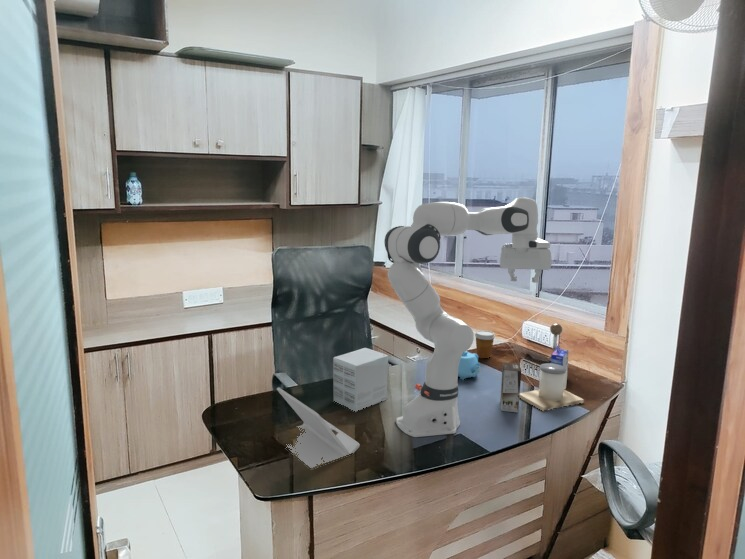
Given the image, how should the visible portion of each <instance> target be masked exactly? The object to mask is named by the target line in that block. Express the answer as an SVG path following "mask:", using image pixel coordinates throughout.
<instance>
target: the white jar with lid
mask: <svg viewBox="0 0 745 559" xmlns="http://www.w3.org/2000/svg"><path fill="white" fill-rule="evenodd" d="M539 369H540V371H539V382H538V390H539V394H538V395H539V397H540V398H542V399H545V400H548V401H560V400H562V399H563V390H567V389H566V388H567V380H568V370H567V371H566V368H565V367H563V366H561V365H558V364H552V363H551V362H550V363H541V364H540V365H539Z"/></svg>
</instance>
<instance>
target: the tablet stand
mask: <svg viewBox="0 0 745 559" xmlns="http://www.w3.org/2000/svg"><path fill="white" fill-rule="evenodd" d="M276 391H277V392H278V393H279V394H280V395H281V396H282V398H283V399H284V400H285V401H286V402H287V404H288V405H289V406H290V407H291V408H292V410H294V413H295V414H296V415H297V416H298V417H299V418H300V419H301V421H302V422H303V423H302V424H301V425H298V426H297V427H298V428H299V427H300V428H302V429H305V432H306V433H305V432H304V433H303V434H302V433H300V436H299V437H300V438H299V437H298V436H297V437H298V438H297V441H298V442H297V441H296V442H297V444H296V443H295V444H296V445H295V447H294V446H293V447H294V448H293V447H292V445H291V444H290V445H291V446H290V445H289V444H288V445H289V446H288V445H287V444H286V445H287V447H288V448H290V449H292V450H290V449H289V450H290V451H291V452H292V453H295V454H296V453H297V452H298V453H297V455H298V454H299V455H298V458H299V459H300V460H301V461H303V462H304V463H305V464H306V465H308V466H309V467H310V468H313V467H315V466H317V465H316V464H318V465H320V464H321V463H322V464H323V463H326V462H329V461H332V460H335V459H338V458H340V457H343V456H346V455H349V454H351V453H353V454H354V453H356V451H357V450H358V449H359V448H360V446H361V444H360V443H359V442H358V441H356V439H354V438H352V437H350V436H349V435H348V434H347V433H345V432H343V431H342V430H340V429H339V428H337V427H336V426H335V425H333V424H332V423H330V422H328V421H327V420H325V419H324V417H322V416H321V415H320V414H319V413H318V412H316V411H315V410H314V409H312V408H310V407H309V406H307V405H306V404H305V403H303V402H302V401H300V400H298V399H297V398H296V397H294V396H293V395H291V394H289V393H288V392H287V391H285V390H283V389H282V388H281V387H280V386H278V387H276ZM300 428H299V430H300ZM302 429H301V430H302ZM301 430H300V431H301ZM303 431H304V430H303ZM303 431H302V432H303ZM333 431H335V432H336V434H335V433H334V432H333ZM301 434H302V435H301ZM302 436H303V437H302ZM300 443H301V444H300ZM287 447H286V448H287ZM286 448H285V449H286ZM295 448H296V449H295ZM295 451H296V452H295ZM292 453H291V454H292ZM297 455H296V456H297ZM349 456H350V455H349ZM322 457H323V459H322V460H321V458H322ZM346 457H347V456H346ZM299 459H298V460H299ZM300 460H299V461H300ZM323 460H324V461H325V462H323ZM301 461H300V462H301ZM305 464H304V465H305ZM306 465H305V466H306Z"/></svg>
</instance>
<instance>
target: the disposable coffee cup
mask: <svg viewBox="0 0 745 559" xmlns="http://www.w3.org/2000/svg"><path fill="white" fill-rule="evenodd" d="M495 337H496V335H495V332H493V331H491V330H484V329H483V330H482V329H481V330H477V331H475V333H474V338H475V344H476V354H477V355H478V358H479V357H480V358H479V359H482V358H488V359H490V358H491V356H492V355H491V354H492V350H493V346H494V345H493V344H494V339H495ZM489 357H490V358H489Z"/></svg>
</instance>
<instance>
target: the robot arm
mask: <svg viewBox="0 0 745 559" xmlns="http://www.w3.org/2000/svg"><path fill="white" fill-rule="evenodd" d="M412 217H413V218H412V221H413V222H412V224H411V225H410V226H408V225H407V226H406V225H405V226H404V225H398V226H395V227H392V228H391V229H389V230H388V231H387V232H386V234H385V236H384V241H383V242H384V248H385V250H386V252H387V258H388V261H389V262H391V263H393V264H391V265H390V267H389V268H388V271H387V279H388V282H389V284H390V286H391V288H392V290H393V292H394V293H395V294H396V295H397V297H398V299H399V300H400V302H401V303H402V304H403V306H404V307H405V308H406V309H407V311H408V312H409V313H410V315H411V317H412V318H413V319H414V322H415V328H416V330H417V332H418V333H419V335H421V337H423V338H424V339H425V340H427V341H428V342H431V343H433V344H434V351H433V354H432V356H431V357H429V358H428V359H427V360H426V362H425V378H424V379H425V380H424V383H423V385H421V384H420V383H416V384H415V385H414V388H415V390H417V391H419V394H418V395H417V396H415V397H414V398H413V399H412V400H410V401H409V402H408V403H407V404H406V405H405V406H404V408H403V411H402V416H398V417H396V419H395V420H396V421H395V422H396V426H397V427H398V428H399V429H400V430H401V431H402V432H403V433H404V434H406V435H408V436H410V437H413V438H421V437H432V436H441V435H442V436H443V435H452V434H456V433H457V429H458V428H459V427H460V426H461V420H460V416H459V409H458V396H459V383H458V379H459V378H458V377H459V376H458V367H459V362H460V359H461V356H462V354H463V353H464V352H465V351H468V350H469V349H470V348H471V346H472V345H473V343H474V341H475V340H474V339H475V333H474V331H473V329H472V327H471V326H469V324H467V323H466V322H465V321H463V320H462V319H459V318H458V317H455V316H452V315H451V314H448V313H447V312H446V311H445V310H444V309H443V308H442V306H441V297H440V295H439V294H438V291H436V289H435V288H434V287H433V285H432V283H431V282H430V281H429V280H428V278H427V277H426V275H425V274H424V273H423V270H422V269H421V264H428V263H431V262H433V261H434V260H435V259H436V258H437V257H438V255H439V252H440V248H441V237H452V236H458V235H461V234H464V233H465V232H466V231H470V230H471V231H476V232H478V233H479V234H481V235H483V236H493V235H508V234H511V243H505V244H503V245H502V246H501V252H500V258H499V267H500V268H501V269H507V272H508V275H509V277H510V282H517V281H518V280H517V279H518V278H517V275H515V273H514V272H515V270H534V276H533V277H531V279H532V280H531V282H532V283H536V284H537V283H539V280H540V279H539V278H540V276H542V275H541V274H542V273H543V272H542V271H549V270H550V269H551V267H552V252H551V250H550V248H551V243H550V241H547V240H544V239H541V238H539V235H538V229H537V227H538V224H539V211H538V204H537V201H536V200H535V199H533V198H531V197H527V196H526V197H525V196H521V197H516V198H515V199H514V200H513V201H512V202H510V203H507V204H506V205H504V206H496V207H484V208H482V209H480V210H478V211H475V212H470V211H468V208H466V206H465V205H464V204H461V203H459V202H458V203H457V202H454V201H453V202H451V201H450V202H449V201H436V202H434V201H433V202H427V203H423V204H421V205H418V206H417V207H416V208H415V210H414V212H413V216H412Z"/></svg>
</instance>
